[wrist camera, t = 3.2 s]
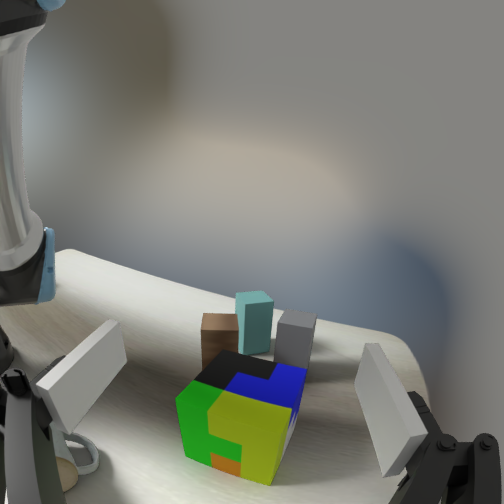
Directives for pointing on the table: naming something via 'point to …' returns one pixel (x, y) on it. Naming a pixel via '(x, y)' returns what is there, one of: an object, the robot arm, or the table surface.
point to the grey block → (294, 338)
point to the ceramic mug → (65, 459)
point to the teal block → (254, 321)
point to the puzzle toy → (241, 414)
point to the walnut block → (218, 335)
